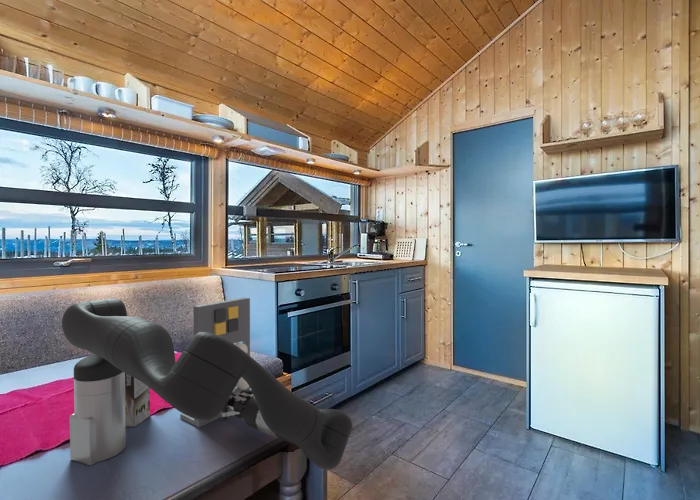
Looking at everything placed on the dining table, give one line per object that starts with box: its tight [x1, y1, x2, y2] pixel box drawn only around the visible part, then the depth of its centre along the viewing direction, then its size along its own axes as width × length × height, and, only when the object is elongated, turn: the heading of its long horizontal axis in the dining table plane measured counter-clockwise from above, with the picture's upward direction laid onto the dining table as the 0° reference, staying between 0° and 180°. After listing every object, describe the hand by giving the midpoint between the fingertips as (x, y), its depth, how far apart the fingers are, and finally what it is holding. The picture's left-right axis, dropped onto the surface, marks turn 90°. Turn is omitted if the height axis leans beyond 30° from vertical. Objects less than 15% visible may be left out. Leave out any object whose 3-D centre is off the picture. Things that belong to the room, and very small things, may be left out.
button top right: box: [234, 342, 248, 353], centre depth 102 cm, size 4×4×4 cm
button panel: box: [179, 297, 251, 429], centre depth 100 cm, size 9×16×30 cm, turn 146°
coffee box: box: [125, 373, 151, 428], centre depth 95 cm, size 9×6×16 cm
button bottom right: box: [236, 377, 249, 390], centre depth 101 cm, size 4×4×4 cm
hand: (220, 394), depth 92 cm, fingers closed
